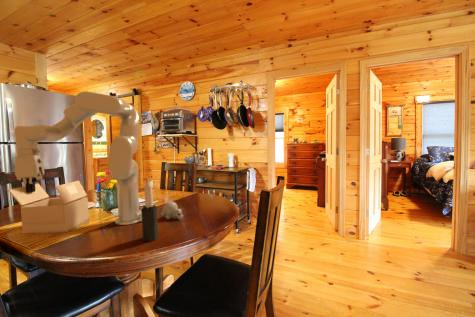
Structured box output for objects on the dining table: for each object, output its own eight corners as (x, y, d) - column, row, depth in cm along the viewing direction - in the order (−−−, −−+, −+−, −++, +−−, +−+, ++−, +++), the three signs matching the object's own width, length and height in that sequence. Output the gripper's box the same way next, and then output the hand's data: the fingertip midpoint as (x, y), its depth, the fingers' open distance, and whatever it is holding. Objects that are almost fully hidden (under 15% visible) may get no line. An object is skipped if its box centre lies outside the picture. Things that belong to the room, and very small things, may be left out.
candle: (158, 235, 96) (156, 176, 95) (155, 241, 91) (152, 178, 90) (146, 236, 96) (143, 176, 95) (142, 241, 91) (138, 178, 89)
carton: (89, 219, 119) (88, 196, 118) (66, 232, 101) (64, 206, 101) (51, 221, 118) (49, 197, 117) (21, 234, 101) (19, 207, 100)
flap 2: (54, 186, 101) (56, 186, 101) (77, 180, 116) (79, 180, 116) (64, 203, 101) (65, 203, 101) (86, 195, 117) (87, 195, 117)
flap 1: (38, 183, 115) (37, 183, 115) (8, 189, 100) (7, 190, 100) (49, 196, 116) (48, 197, 116) (22, 205, 101) (21, 205, 101)
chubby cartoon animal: (175, 226, 114) (179, 212, 112) (158, 215, 118) (161, 200, 116) (184, 222, 120) (189, 207, 118) (167, 211, 125) (171, 197, 123)
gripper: (50, 152, 111) (53, 190, 112) (18, 152, 110) (21, 190, 111) (37, 152, 103) (41, 193, 104) (2, 153, 103) (6, 194, 104)
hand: (30, 192), depth 108 cm, fingers closed
